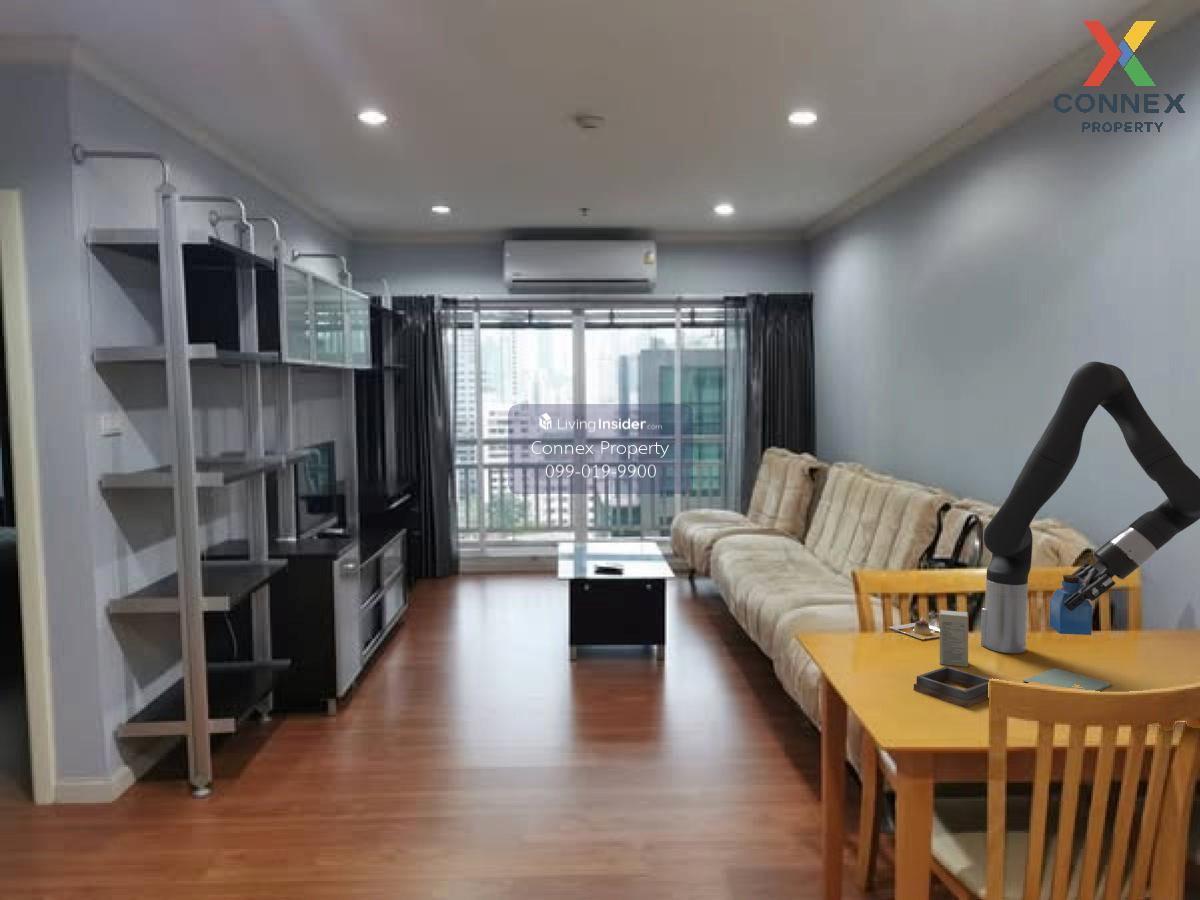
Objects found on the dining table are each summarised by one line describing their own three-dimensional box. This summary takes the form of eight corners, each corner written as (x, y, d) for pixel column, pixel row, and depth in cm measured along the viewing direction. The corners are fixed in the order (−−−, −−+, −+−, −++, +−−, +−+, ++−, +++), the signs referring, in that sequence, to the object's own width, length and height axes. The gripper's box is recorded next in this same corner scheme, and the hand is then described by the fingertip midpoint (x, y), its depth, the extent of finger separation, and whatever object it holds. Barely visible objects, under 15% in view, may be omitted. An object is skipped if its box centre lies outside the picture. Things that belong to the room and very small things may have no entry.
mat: (1022, 682, 175) (1022, 680, 174) (1054, 669, 182) (1054, 668, 182) (1080, 698, 165) (1080, 697, 165) (1111, 685, 172) (1111, 683, 172)
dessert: (922, 643, 204) (922, 625, 204) (888, 630, 215) (888, 613, 215) (956, 637, 209) (956, 619, 209) (921, 625, 220) (921, 609, 220)
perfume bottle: (1091, 635, 169) (1092, 580, 168) (1059, 633, 170) (1060, 579, 170) (1079, 626, 175) (1081, 573, 174) (1049, 625, 176) (1050, 572, 176)
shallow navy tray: (913, 689, 170) (913, 676, 170) (945, 678, 177) (946, 665, 177) (966, 707, 160) (966, 693, 160) (997, 694, 167) (998, 681, 167)
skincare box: (968, 662, 188) (969, 611, 187) (968, 667, 184) (969, 616, 183) (938, 658, 190) (940, 609, 190) (938, 664, 187) (939, 613, 186)
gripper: (1099, 534, 176) (1040, 583, 180) (1123, 545, 162) (1058, 598, 166) (1126, 558, 175) (1065, 607, 179) (1152, 572, 161) (1085, 625, 165)
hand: (1062, 603), depth 173 cm, fingers closed on perfume bottle, 6 cm apart
